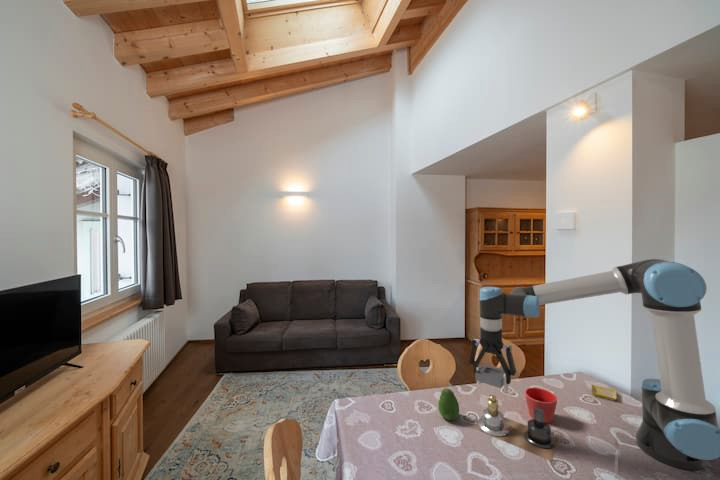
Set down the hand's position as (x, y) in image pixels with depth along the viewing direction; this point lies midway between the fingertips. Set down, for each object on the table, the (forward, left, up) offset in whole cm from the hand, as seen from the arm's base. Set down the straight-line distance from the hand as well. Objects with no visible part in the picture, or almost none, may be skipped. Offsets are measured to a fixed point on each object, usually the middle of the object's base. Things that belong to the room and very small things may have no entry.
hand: (492, 387), depth 109 cm
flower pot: (-13, -18, -16) cm, 27 cm away
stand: (-15, -3, -15) cm, 21 cm away
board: (-7, -2, -16) cm, 18 cm away
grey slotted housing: (0, 0, +3) cm, 3 cm away
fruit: (+15, +5, -16) cm, 23 cm away
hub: (0, 0, -15) cm, 15 cm away
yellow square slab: (-31, -54, -17) cm, 64 cm away
